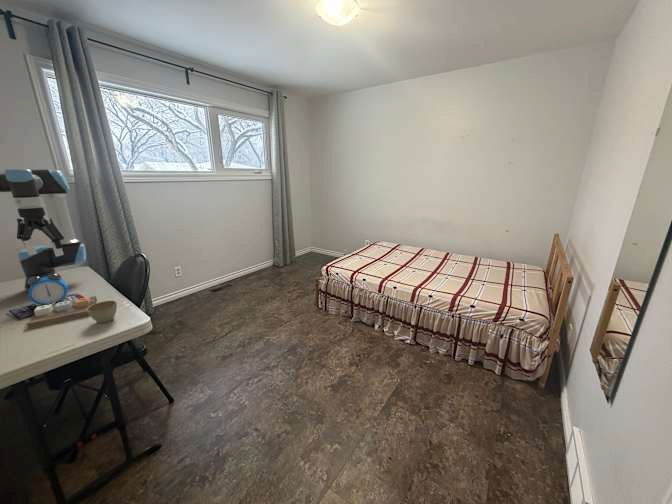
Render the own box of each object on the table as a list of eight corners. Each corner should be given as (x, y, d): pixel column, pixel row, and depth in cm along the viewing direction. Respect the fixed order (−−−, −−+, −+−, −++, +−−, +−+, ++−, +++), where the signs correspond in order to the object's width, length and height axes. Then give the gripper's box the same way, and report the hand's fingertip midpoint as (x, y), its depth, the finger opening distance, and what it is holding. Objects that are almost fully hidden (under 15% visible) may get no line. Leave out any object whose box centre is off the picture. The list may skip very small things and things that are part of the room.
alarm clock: (33, 309, 128) (22, 280, 124) (34, 304, 133) (24, 276, 128) (70, 300, 137) (61, 273, 132) (71, 296, 141) (62, 270, 137)
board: (41, 311, 127) (40, 306, 126) (97, 300, 137) (95, 295, 137) (28, 328, 112) (26, 323, 112) (91, 314, 123) (90, 310, 122)
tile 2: (78, 304, 128) (76, 298, 127) (91, 301, 131) (89, 296, 130) (76, 308, 125) (74, 302, 124) (89, 305, 127) (87, 299, 126)
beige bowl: (96, 317, 121) (91, 303, 119) (123, 312, 125) (119, 298, 123) (86, 328, 112) (82, 313, 110) (116, 323, 116) (112, 308, 114)
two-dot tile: (59, 308, 125) (57, 302, 124) (72, 305, 127) (70, 299, 126) (56, 312, 121) (54, 306, 120) (70, 309, 124) (68, 303, 123)
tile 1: (39, 312, 121) (37, 306, 120) (53, 309, 124) (51, 303, 123) (36, 316, 118) (33, 310, 117) (50, 313, 120) (48, 307, 119)
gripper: (-8, 207, 111) (11, 256, 117) (46, 209, 108) (62, 258, 115) (15, 205, 118) (31, 251, 124) (66, 206, 115) (79, 253, 122)
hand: (46, 255), depth 120 cm, fingers open, 13 cm apart
